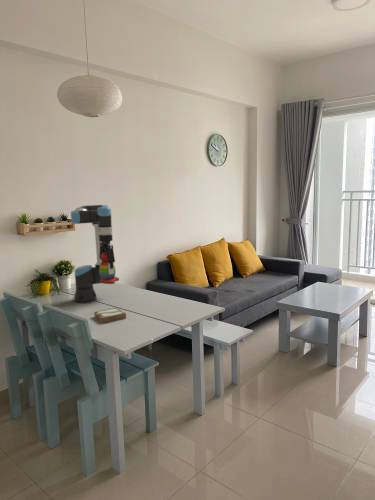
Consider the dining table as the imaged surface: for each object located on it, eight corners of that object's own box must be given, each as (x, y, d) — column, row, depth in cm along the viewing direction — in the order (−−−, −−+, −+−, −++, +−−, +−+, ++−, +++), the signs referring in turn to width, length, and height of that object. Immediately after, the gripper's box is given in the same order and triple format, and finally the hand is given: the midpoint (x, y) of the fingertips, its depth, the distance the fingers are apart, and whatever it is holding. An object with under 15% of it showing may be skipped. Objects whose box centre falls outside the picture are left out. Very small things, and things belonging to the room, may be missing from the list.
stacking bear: (113, 284, 218) (111, 253, 215) (96, 283, 220) (94, 253, 217) (120, 279, 228) (118, 250, 225) (104, 279, 230) (102, 250, 227)
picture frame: (94, 316, 230) (94, 311, 229) (116, 312, 237) (116, 307, 237) (103, 323, 218) (103, 318, 218) (126, 318, 226) (125, 313, 225)
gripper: (92, 233, 226) (94, 270, 230) (107, 236, 208) (109, 276, 212) (104, 231, 230) (106, 268, 234) (119, 235, 213) (121, 274, 216)
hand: (107, 272), depth 223 cm, fingers closed on stacking bear, 9 cm apart
